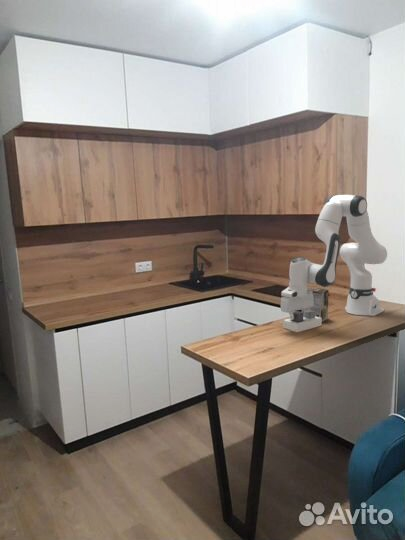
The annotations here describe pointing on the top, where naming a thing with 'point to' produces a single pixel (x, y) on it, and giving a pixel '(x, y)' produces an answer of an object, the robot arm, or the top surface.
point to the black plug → (298, 316)
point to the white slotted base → (307, 323)
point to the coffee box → (320, 303)
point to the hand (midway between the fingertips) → (297, 318)
